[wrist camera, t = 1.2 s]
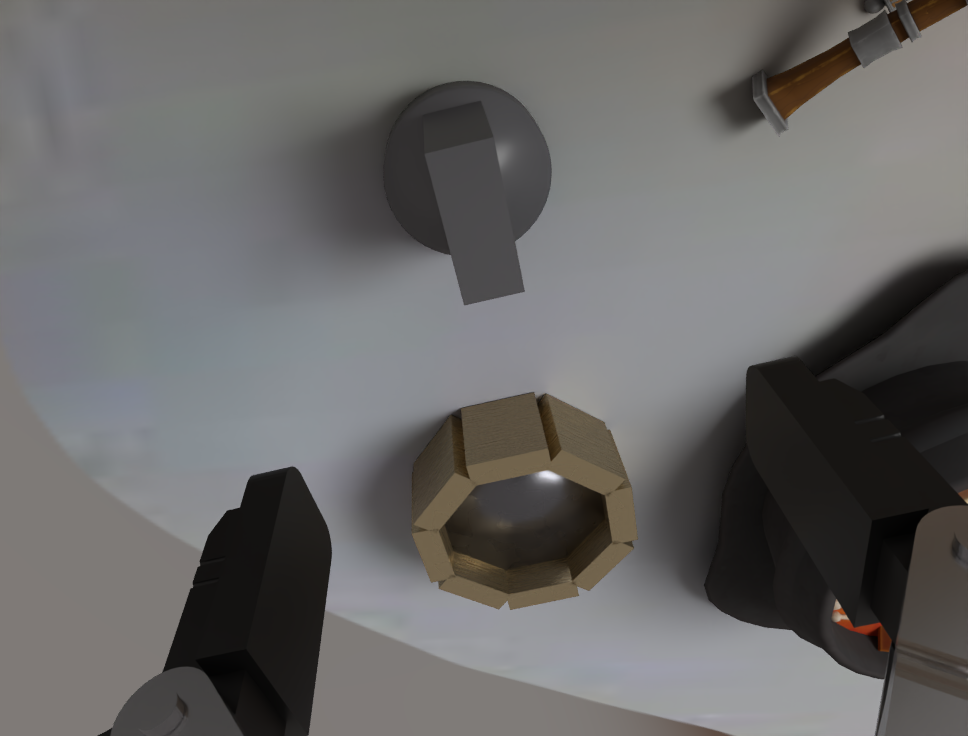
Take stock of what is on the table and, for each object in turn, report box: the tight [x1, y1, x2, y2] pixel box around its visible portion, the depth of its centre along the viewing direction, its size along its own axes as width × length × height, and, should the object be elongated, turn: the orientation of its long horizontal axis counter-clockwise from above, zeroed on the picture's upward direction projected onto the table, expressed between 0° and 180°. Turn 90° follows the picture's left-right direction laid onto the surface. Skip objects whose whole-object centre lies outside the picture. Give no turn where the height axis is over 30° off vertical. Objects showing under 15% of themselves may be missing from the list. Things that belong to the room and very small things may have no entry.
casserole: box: [704, 270, 968, 679], centre depth 32 cm, size 25×19×8 cm
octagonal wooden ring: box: [412, 392, 638, 610], centre depth 33 cm, size 10×10×4 cm
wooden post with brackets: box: [752, 0, 968, 136], centre depth 22 cm, size 2×8×4 cm, turn 134°
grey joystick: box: [384, 81, 552, 305], centre depth 23 cm, size 6×6×6 cm
